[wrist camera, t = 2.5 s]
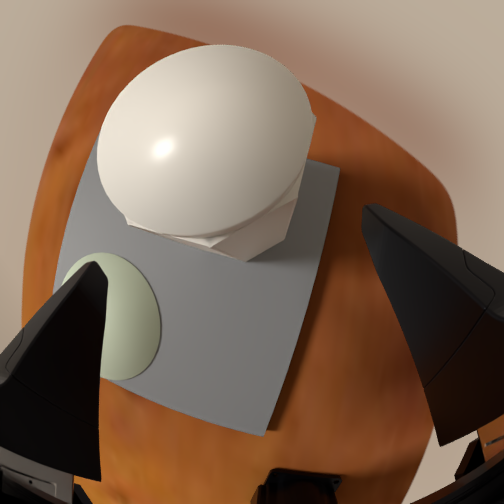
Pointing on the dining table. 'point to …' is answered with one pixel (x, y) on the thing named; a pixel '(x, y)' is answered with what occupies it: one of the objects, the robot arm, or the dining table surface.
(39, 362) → the robot arm
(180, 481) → the dining table surface
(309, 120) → the salt shaker
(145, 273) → the board
